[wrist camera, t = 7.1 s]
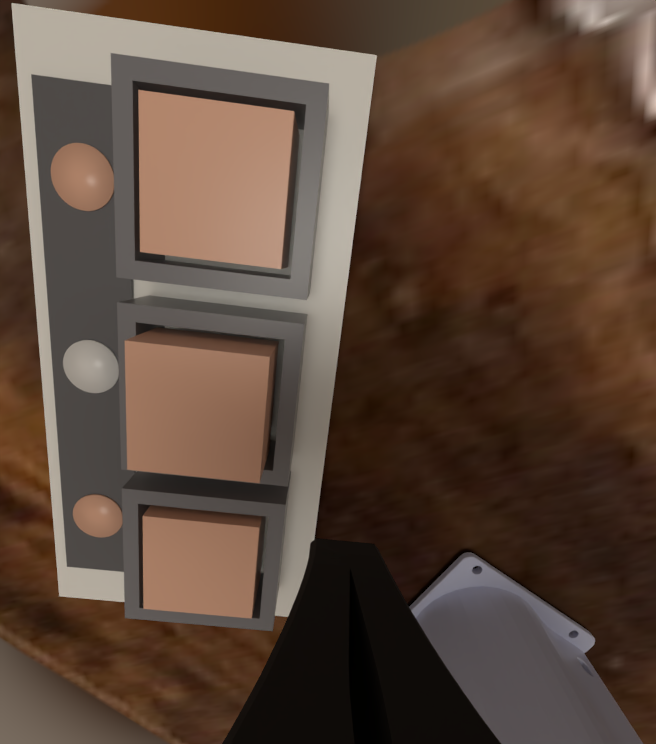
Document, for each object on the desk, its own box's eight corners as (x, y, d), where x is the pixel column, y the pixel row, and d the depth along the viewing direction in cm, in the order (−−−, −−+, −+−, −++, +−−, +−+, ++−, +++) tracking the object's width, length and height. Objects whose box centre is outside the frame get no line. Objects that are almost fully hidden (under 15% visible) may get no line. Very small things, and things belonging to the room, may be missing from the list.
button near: (288, 267, 15) (280, 268, 13) (168, 252, 15) (140, 252, 12) (299, 135, 14) (293, 110, 11) (170, 118, 14) (138, 89, 11)
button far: (260, 574, 19) (251, 618, 16) (166, 565, 19) (143, 608, 16) (268, 492, 18) (259, 527, 15) (166, 481, 17) (142, 515, 15)
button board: (305, 594, 21) (301, 667, 18) (77, 572, 21) (21, 643, 17) (371, 75, 15) (387, 11, 11) (43, 28, 14) (-61, -56, 11)
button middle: (269, 450, 16) (259, 483, 13) (156, 438, 16) (127, 469, 13) (278, 341, 15) (269, 356, 12) (156, 327, 14) (124, 340, 12)
